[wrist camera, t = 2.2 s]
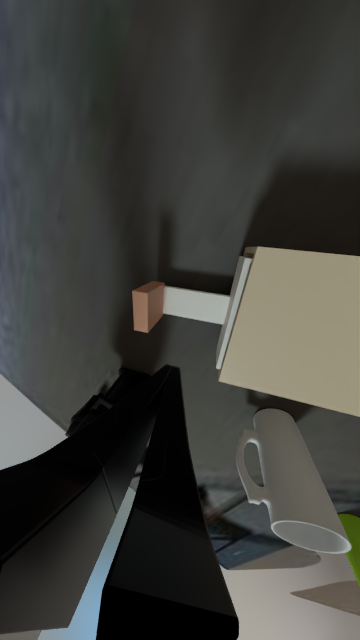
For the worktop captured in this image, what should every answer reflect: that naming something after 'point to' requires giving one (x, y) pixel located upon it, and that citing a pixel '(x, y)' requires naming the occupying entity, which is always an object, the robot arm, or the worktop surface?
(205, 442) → the worktop surface
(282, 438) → the mug
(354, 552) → the soap dispenser
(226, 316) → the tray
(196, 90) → the worktop surface
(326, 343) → the cream cardboard box
